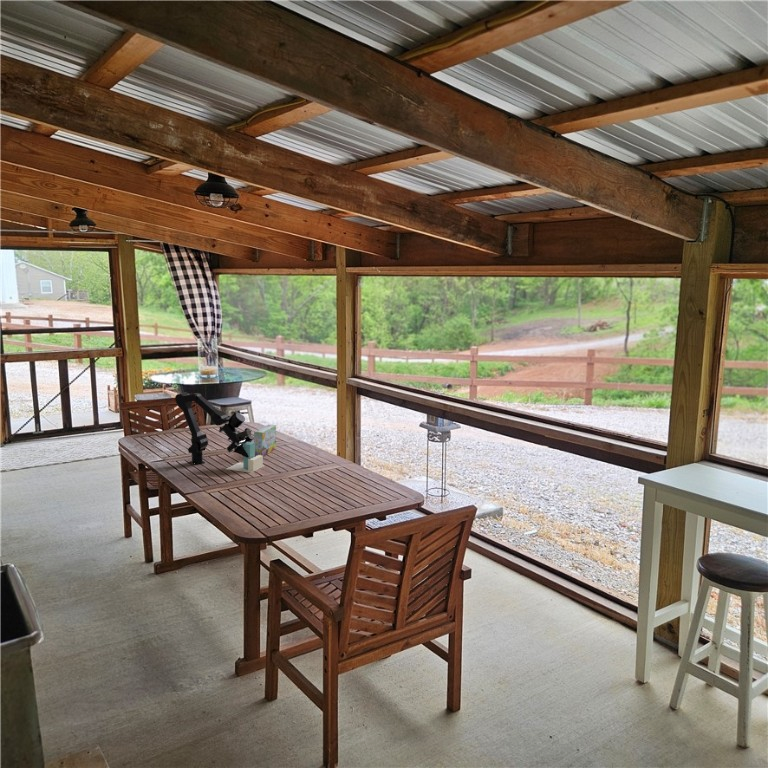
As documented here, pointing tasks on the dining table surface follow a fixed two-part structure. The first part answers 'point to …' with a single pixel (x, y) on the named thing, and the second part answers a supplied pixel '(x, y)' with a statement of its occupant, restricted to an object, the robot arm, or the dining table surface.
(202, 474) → the dining table surface
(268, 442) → the snack box
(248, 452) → the tall teal pillar
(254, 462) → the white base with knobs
